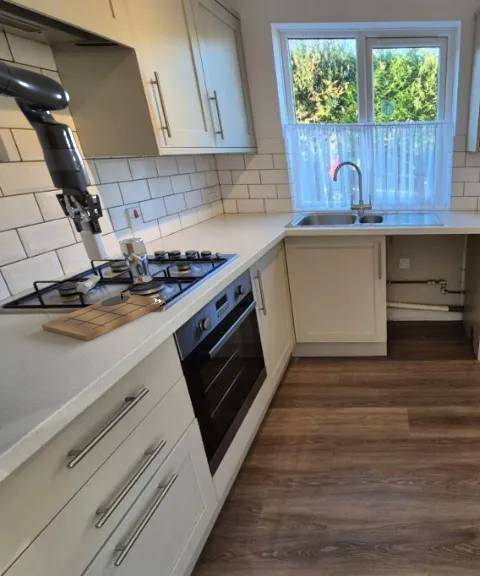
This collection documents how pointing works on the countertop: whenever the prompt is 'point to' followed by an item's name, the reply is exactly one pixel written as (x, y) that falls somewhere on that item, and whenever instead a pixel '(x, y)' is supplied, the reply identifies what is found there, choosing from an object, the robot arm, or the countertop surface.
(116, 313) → the board
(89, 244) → the eye dropper bottle
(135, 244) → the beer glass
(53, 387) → the countertop surface
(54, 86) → the robot arm
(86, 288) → the bone fragment
